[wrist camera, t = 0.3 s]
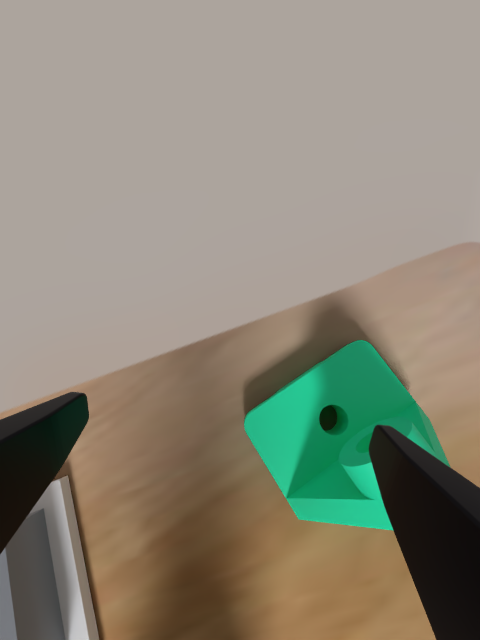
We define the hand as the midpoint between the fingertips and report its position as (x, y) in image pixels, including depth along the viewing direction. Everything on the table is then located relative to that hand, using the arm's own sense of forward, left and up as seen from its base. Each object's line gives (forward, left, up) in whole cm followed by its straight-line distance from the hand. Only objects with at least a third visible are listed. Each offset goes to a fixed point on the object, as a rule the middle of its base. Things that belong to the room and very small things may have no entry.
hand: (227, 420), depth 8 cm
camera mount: (-4, -6, -15) cm, 17 cm away
